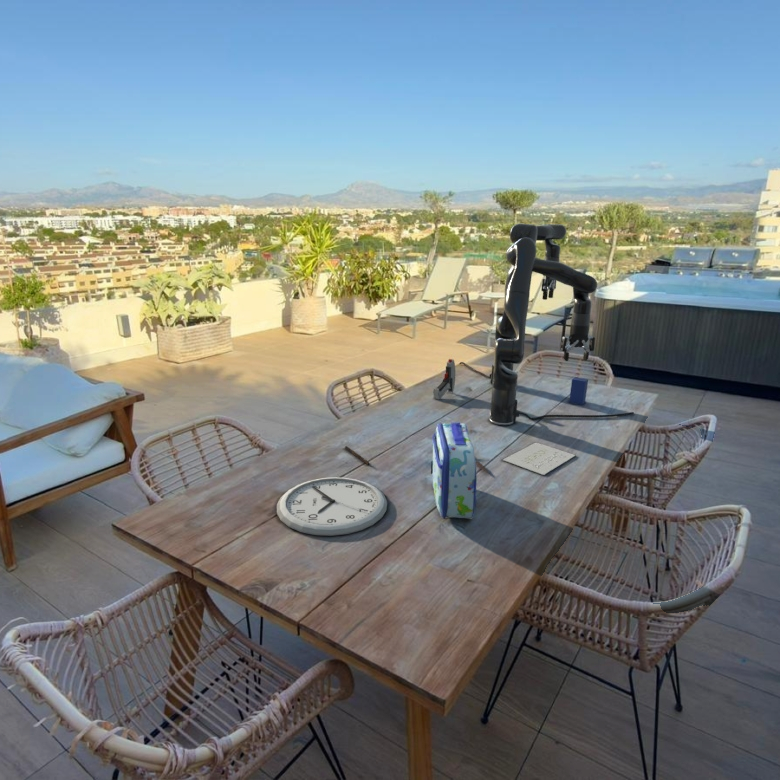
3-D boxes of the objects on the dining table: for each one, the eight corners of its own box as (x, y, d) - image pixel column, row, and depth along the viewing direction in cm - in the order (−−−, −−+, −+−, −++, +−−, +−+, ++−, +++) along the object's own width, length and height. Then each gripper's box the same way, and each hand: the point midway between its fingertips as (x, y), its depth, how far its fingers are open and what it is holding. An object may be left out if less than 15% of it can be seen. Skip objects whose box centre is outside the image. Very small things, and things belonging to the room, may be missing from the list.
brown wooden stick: (344, 448, 179) (344, 445, 179) (346, 448, 179) (346, 445, 179) (367, 464, 167) (367, 462, 167) (368, 464, 167) (368, 461, 167)
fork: (483, 474, 162) (483, 469, 161) (463, 454, 176) (463, 448, 176) (491, 474, 162) (491, 468, 162) (470, 453, 177) (470, 447, 176)
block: (572, 400, 235) (574, 377, 231) (585, 402, 231) (588, 379, 228) (569, 402, 231) (572, 379, 228) (582, 405, 228) (585, 381, 225)
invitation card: (535, 442, 186) (575, 454, 176) (535, 442, 187) (575, 455, 176) (502, 459, 172) (543, 474, 162) (502, 460, 172) (543, 475, 162)
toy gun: (433, 366, 227) (451, 357, 238) (433, 400, 233) (450, 390, 244) (438, 367, 226) (455, 358, 237) (438, 401, 232) (455, 391, 243)
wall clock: (392, 527, 129) (268, 531, 127) (391, 533, 130) (269, 537, 127) (383, 473, 158) (282, 475, 155) (383, 478, 158) (282, 480, 156)
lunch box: (429, 478, 158) (432, 413, 152) (464, 479, 158) (468, 414, 152) (435, 525, 134) (438, 450, 127) (477, 526, 133) (482, 451, 127)
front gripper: (591, 321, 226) (587, 358, 231) (560, 322, 224) (556, 358, 229) (600, 325, 219) (595, 362, 224) (568, 325, 217) (563, 363, 222)
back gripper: (548, 265, 270) (545, 296, 275) (538, 266, 259) (535, 299, 263) (563, 265, 266) (559, 298, 270) (553, 267, 254) (550, 300, 259)
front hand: (575, 360), depth 227 cm, fingers open, 8 cm apart
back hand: (547, 298), depth 267 cm, fingers open, 8 cm apart
